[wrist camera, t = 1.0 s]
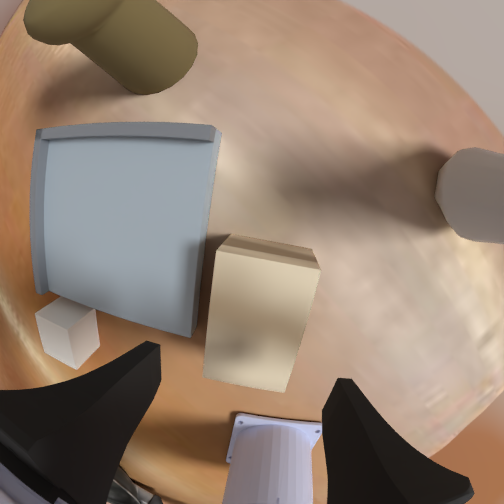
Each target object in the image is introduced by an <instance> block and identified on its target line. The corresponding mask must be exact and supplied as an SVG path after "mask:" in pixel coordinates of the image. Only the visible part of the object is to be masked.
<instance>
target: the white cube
mask: <svg viewBox="0 0 504 504" xmlns="http://www.w3.org/2000/svg"><path fill="white" fill-rule="evenodd" d="M35 317H36V321H37V326H38V330H39V334H40V337H41V341H42V345H43V348H44V352H45V353H47V354H48V355H50V356H52V357H54V358H55V359H57V360H59V361H61V362H63V363H65V364H66V365H68V366H70V367H72V368H74V369H76V370H77V369H78V368H79V367H80V366H81V365H82V364H83V363H84V362H85V361H86V360H87V359H88V358H89V357H90V356H91V355H92V354H93V353H94V352H95V351H96V350H97V349H98V348H99V347H100V341H99V334H98V327H97V319H96V310H95V309H94V308H91V307H88V306H86V305H83V304H80V303H78V302H75V301H73V300H70V299H68V298H65V297H63V296H61V297H59V298H58V299H56V300H54V301H53V302H51V303H50V304H48V305H47V306H45V307H44V308H42V309H40V310H39V311H37V312H36V313H35Z"/></svg>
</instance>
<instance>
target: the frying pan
mask: <svg viewBox="0 0 504 504" xmlns="http://www.w3.org/2000/svg"><path fill="white" fill-rule="evenodd" d="M107 502H109V503H112V504H163V502H162V500H161V498H160V497H159V496H157V495H153V494H151V493H150V492H148V491H146V490H144V489H143V488H141V487H139V486H138V485H136V484H134V483H133V482H132V481H131V479H130V478H129V477H128V475H127V474H126V473H125V472H124V471H123V470H122V469H121V468H120V467H119V466H118V468H117V471H116V474H115V476H114V479H113V482H112V485H111V488H110V492H109V495H108V499H107Z"/></svg>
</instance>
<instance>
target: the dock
mask: <svg viewBox="0 0 504 504" xmlns="http://www.w3.org/2000/svg"><path fill="white" fill-rule="evenodd" d="M221 135H222V133H221V132H220V131H219V130H217V129H216V128H215V127H214V126H212V125H204V124H190V123H170V122H111V123H92V124H79V125H68V126H59V127H51V128H44V129H37V130H36V136H35V143H34V151H33V159H32V170H31V184H30V240H31V254H32V265H33V274H34V281H35V288H36V293H38V294H40V295H43V294H45V293H46V292H48V291H51V292H53V293H55V294H58V295H60V296H63V297H65V298H68V299H70V300H73V301H75V302H78V303H80V304H83V305H86V306H88V307H91V308H94V309H97V310H99V311H102V312H105V313H108V314H111V315H114V316H117V317H120V318H123V319H126V320H129V321H132V322H136V323H139V324H142V325H145V326H149V327H152V328H156V329H159V330H163V331H166V332H170V333H174V334H177V335H181V336H185V337H189V338H191V336H192V335H193V333H194V331H195V329H196V327H197V318H198V307H199V297H200V286H201V277H202V268H203V259H204V250H205V242H206V234H207V226H208V219H209V211H210V204H211V197H212V190H213V184H214V177H215V171H216V165H217V158H218V152H219V147H220V141H221Z"/></svg>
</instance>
